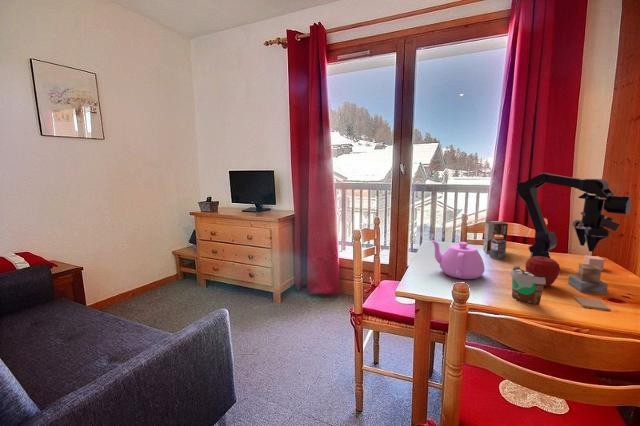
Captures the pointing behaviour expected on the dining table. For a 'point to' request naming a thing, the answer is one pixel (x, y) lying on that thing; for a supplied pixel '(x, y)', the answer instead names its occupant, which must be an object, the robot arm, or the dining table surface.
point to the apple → (543, 268)
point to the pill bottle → (497, 247)
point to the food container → (526, 286)
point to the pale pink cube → (594, 261)
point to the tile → (591, 303)
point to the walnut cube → (589, 273)
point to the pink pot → (460, 261)
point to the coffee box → (494, 233)
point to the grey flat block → (587, 285)
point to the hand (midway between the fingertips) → (586, 248)
